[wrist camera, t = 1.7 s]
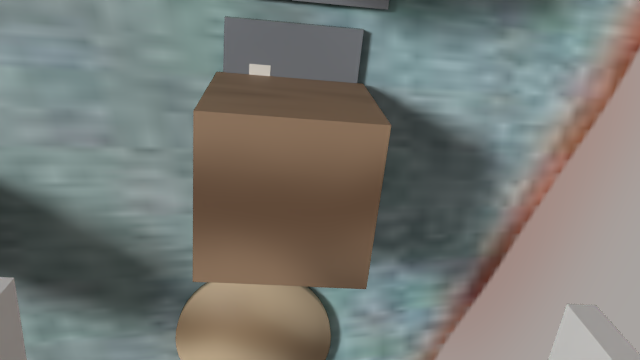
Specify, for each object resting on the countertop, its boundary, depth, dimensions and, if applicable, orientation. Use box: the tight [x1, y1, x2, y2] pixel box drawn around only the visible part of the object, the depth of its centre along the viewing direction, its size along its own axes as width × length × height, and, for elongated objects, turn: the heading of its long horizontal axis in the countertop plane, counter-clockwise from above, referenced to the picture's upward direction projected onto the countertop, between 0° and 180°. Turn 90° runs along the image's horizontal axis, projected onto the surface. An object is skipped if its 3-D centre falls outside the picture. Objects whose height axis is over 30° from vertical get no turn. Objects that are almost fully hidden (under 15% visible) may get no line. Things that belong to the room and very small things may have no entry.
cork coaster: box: [176, 282, 331, 360], centre depth 31 cm, size 9×9×1 cm
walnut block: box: [193, 72, 391, 289], centre depth 23 cm, size 7×7×7 cm
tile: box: [223, 16, 364, 83], centre depth 26 cm, size 12×6×1 cm, turn 175°
